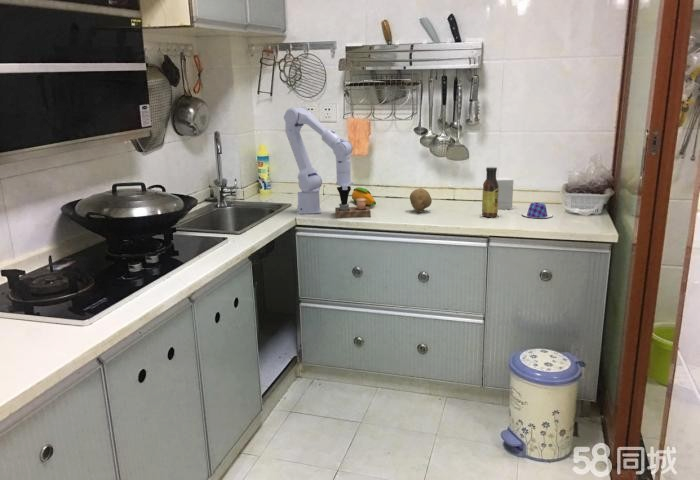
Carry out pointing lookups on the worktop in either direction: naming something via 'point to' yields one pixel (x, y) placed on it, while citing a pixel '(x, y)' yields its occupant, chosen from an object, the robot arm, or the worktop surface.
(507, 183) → the supplement box
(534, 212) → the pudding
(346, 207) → the grey plug
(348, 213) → the socket board
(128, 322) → the worktop surface
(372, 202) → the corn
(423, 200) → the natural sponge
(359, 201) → the terracotta plug
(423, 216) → the worktop surface
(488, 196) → the sauce bottle
